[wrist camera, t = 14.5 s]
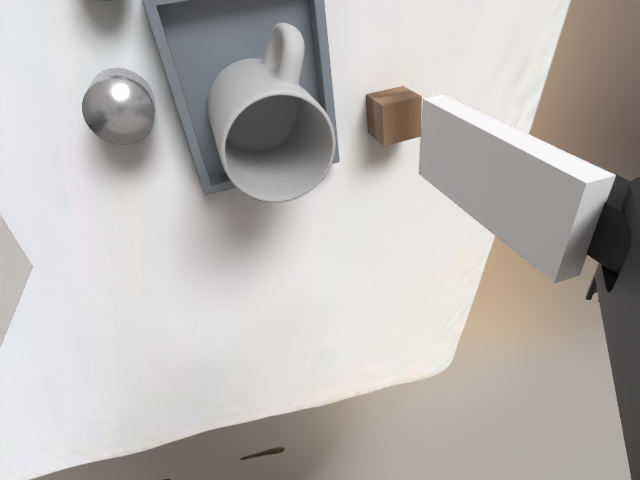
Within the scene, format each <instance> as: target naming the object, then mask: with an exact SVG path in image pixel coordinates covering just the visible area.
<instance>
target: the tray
mask: <svg viewBox="0 0 640 480" xmlns="http://www.w3.org/2000/svg"><path fill="white" fill-rule="evenodd" d="M143 3H144V7H145V10H146V13H147V16H148V19H149V22H150V25H151V28H152V31H153V35H154V38H155V41H156V44H157V47H158V50H159V53H160V56H161V60H162V63H163V66H164V69H165V72H166V75H167V78H168V81H169V84H170V88H171V91H172V94H173V97H174V100H175V103H176V106H177V109H178V112H179V116H180V119H181V122H182V125H183V128H184V131H185V134H186V137H187V141H188V144H189V147H190V150H191V153H192V156H193V159H194V162H195V165H196V169H197V172H198V175H199V178H200V181H201V184H202V187H203V190H204V193H205V195H208V194H212V193H216V192H220V191H224V190H228V189H232V188H236V186H235V185H234V184H233V183H232V182H231V180H230V179H229V177H228V176H227V174H226V172H225V170H224V168H223V165H222V162H221V159H220V155H219V152H218V148H217V144H216V141H215V137H214V134H213V130H212V127H211V124H210V121H209V118H208V113H207V98H208V94H209V90H210V87H211V85H212V83H213V81H214V80H215V78H216V77H217V76H218V74H219V73H220V72H221V71H222V70H223V69H225V68H226V67H227V66H229V65H230V64H232V63H234V62H237V61H239V60H243V59H250V58H258V59H264V56H265V51H266V46H267V42H268V38H269V35H270V32H271V30H272V28H273V27H274V26H275V25H276V24H278V23H287V24H290V25H293V26H294V27H296V28H297V29H298V30H299V31H300V33H301V35H302V37H303V40H304V58H303V64H302V69H301V74H300V79H299V85H300V86H301V87H302V88H303V89H304V90H306V91H307V92H308V93H309V94H310V95H311V96H312V97H313V98H314V99H315V100H316V101H317V102H318V103H319V104H320V106H321V107H322V108H323V109H324V110H325V112H326V113H327V115H328V116H329V118H330V121H331V123H332V125H333V129H334V133H335V153H334V158H333V161H332V164H334V163H338V162H339V151H338V141H337V130H336V120H335V109H334V99H333V88H332V78H331V67H330V57H329V46H328V36H327V25H326V15H325V4H324V0H143Z"/></svg>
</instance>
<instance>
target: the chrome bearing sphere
mask: <svg viewBox="0 0 640 480" xmlns="http://www.w3.org/2000/svg"><path fill="white" fill-rule="evenodd" d="M154 108H155V100H154V95H153V92H152V90H151V88H150V86H149V85H148V84H147V82H146V81H145V80H144V79H143V78H142V77H140V76H139V75H138V74H136V73H134V72H132V71H130V70H126V69H121V68H113V69H108V70H105V71H103V72H101V73H100V74H98V75H97V76H96V77H95V78H94V80H93V82H92V83H91V85H90V87H89V89H88V90H87V92H86V94H85V96H84V98H83V102H82V112H83V116H84V119H85V121H86V123H87V125H88V126H89V127H90V129H91V130H92V131H93V132H94V133H95V134H96V135H98V136H99V137H100V138H102V139H104V140H106V141H108V142H111V143H115V144H132V143H135V142H138V141H140V140H141V139H143V138H144V137H145V136H146V135H147V134H148V133H149V132H150V130H151V128H152V125H153V121H154Z"/></svg>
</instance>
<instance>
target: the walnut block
mask: <svg viewBox="0 0 640 480" xmlns="http://www.w3.org/2000/svg"><path fill="white" fill-rule="evenodd" d="M366 101H367V117H368V133H369V134H371V135H372V136H373V137H374V138H375V139H376V140H378V141H379V142H380V143H381V144H382V145H383V146H386V145H390V144H394V143H398V142H401V141H405V140H409V139H413V138H417V137H421V102H422V96H420V95H418V94H417V93H415V92H413V91H411V90H409V89H407V88H405V87H404V86H401V87H397V88H392V89H388V90H384V91H379V92H375V93H371V94H367V95H366Z"/></svg>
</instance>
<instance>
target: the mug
mask: <svg viewBox="0 0 640 480" xmlns="http://www.w3.org/2000/svg"><path fill="white" fill-rule="evenodd" d="M303 58H304V40H303V37H302V35H301V33H300V31H299V30H298V29H297V28H296V27H294V26H293V25H290V24H287V23H278V24H276V25H275V26H274V27H273V28H272V30H271V32H270V35H269V38H268V42H267V46H266V51H265V56H264V59H258V58H250V59H243V60H239V61H237V62H234V63H232V64H230V65H229V66H227V67H226V68H225V69H223V70H222V71H221V72H220V73H219V74H218V76H217V77H216V78H215V80H214V81H213V83H212V85H211V87H210V90H209V94H208V98H207V113H208V118H209V121H210V124H211V127H212V130H213V134H214V137H215V141H216V144H217V148H218V152H219V155H220V159H221V162H222V165H223V168H224V170H225V172H226V174H227V176H228V177H229V179H230V180H231V182H232V183H233V184H234V185H235V186H236V187H237V188H238V189H239V190H240V191H241V192H243V193H245V194H246V195H248V196H250V197H252V198H254V199H257V200H260V201H265V202H285V201H290V200H293V199H296V198H298V197H301V196H303V195H304V194H306V193H308V192H309V191H311V190H312V189H313V188H315V187H316V186H317V185H318V184H319V183H320V182H321V180H322V179H323V178H324V177H325V175H326V174H327V172H328V170H329V168H330V166H331V164H332V161H333V158H334V153H335V133H334V129H333V125H332V123H331V121H330V118H329V116H328V115H327V113H326V112H325V110H324V109H323V108H322V107H321V106H320V104H319V103H318V102H317V101H316V100H315V99H314V98H313V97H312V96H311V95H310V94H309V93H308V92H307V91H306V90H304V89H303V88H302V87H301V86H300V85H299V79H300V74H301V69H302V64H303Z"/></svg>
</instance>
